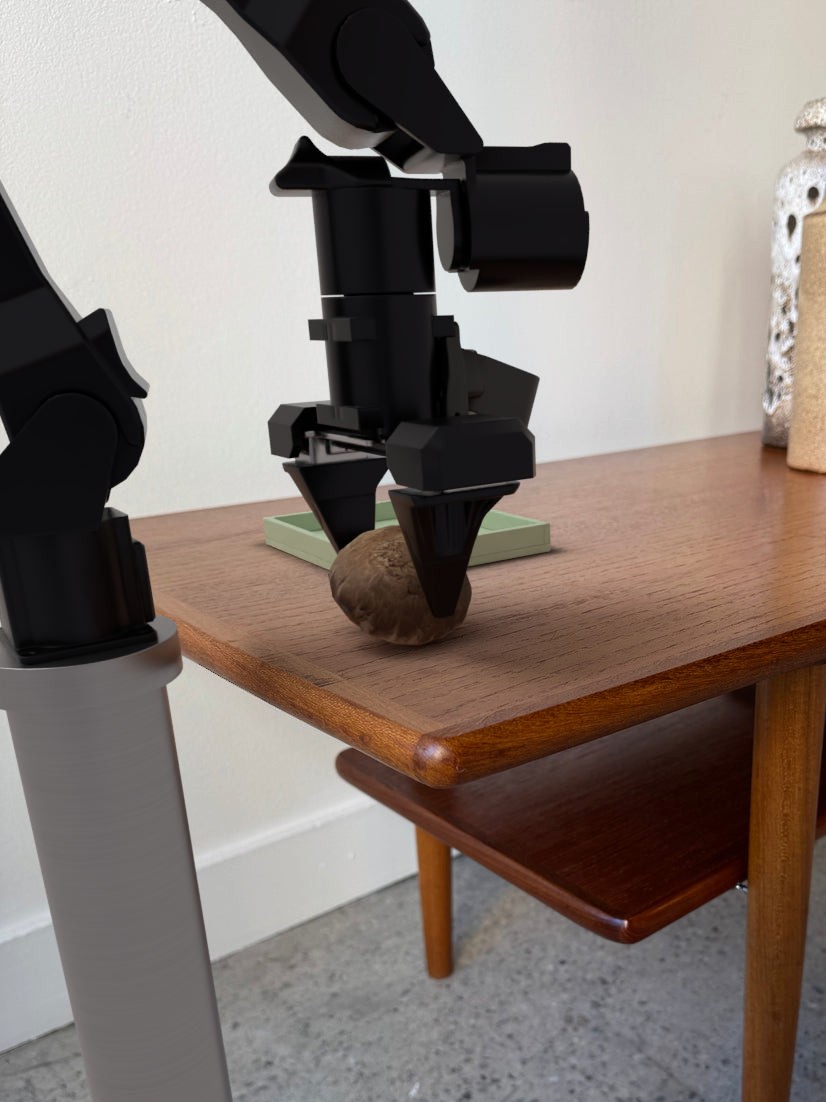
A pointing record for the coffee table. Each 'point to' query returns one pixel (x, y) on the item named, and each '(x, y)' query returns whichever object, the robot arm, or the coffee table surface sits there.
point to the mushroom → (388, 590)
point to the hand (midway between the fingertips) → (401, 599)
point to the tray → (310, 543)
